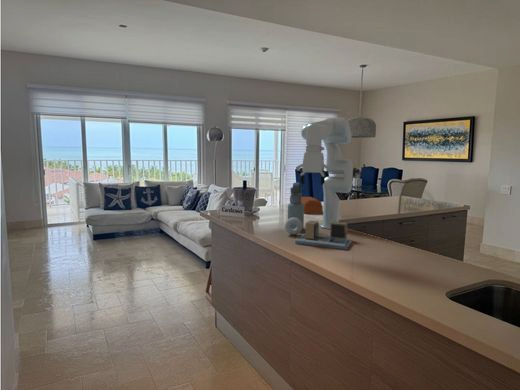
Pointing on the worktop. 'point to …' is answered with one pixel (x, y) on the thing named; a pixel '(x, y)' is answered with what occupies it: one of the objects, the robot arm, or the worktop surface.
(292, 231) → the donut
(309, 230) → the rail
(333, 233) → the tan wooden block
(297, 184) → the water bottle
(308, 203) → the bread
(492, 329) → the worktop surface
